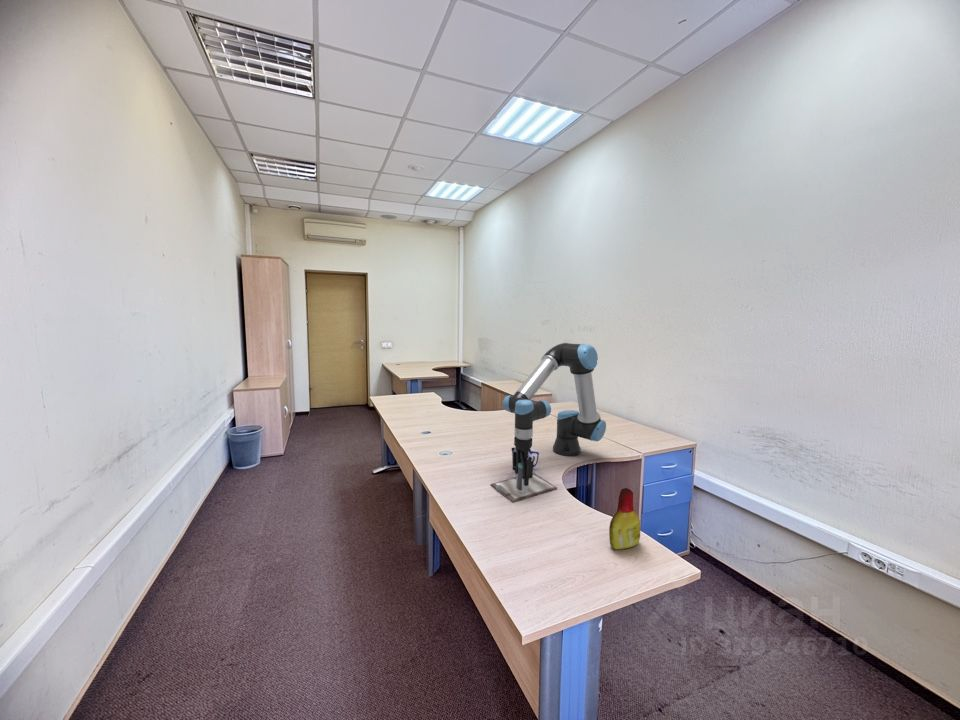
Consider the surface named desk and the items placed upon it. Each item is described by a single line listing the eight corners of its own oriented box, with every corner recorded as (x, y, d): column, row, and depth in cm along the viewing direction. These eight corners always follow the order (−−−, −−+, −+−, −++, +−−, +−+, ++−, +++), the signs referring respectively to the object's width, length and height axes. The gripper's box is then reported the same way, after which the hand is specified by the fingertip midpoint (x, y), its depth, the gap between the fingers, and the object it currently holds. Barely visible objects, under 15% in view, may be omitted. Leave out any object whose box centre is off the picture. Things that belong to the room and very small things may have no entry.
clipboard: (532, 474, 173) (532, 470, 173) (557, 489, 159) (557, 485, 159) (490, 485, 161) (490, 482, 161) (512, 502, 147) (512, 498, 146)
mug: (537, 473, 174) (538, 453, 173) (512, 471, 177) (513, 451, 175) (538, 466, 182) (539, 447, 181) (514, 464, 185) (515, 445, 183)
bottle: (615, 555, 115) (619, 496, 113) (602, 543, 121) (605, 487, 119) (644, 547, 120) (648, 490, 117) (629, 536, 125) (633, 481, 123)
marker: (522, 488, 157) (523, 461, 156) (527, 491, 154) (528, 464, 152) (515, 490, 155) (516, 462, 154) (520, 494, 152) (521, 465, 151)
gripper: (504, 432, 157) (503, 484, 160) (528, 444, 143) (526, 500, 146) (518, 430, 161) (517, 480, 163) (543, 441, 147) (541, 496, 149)
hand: (521, 489), depth 155 cm, fingers closed on marker, 3 cm apart
